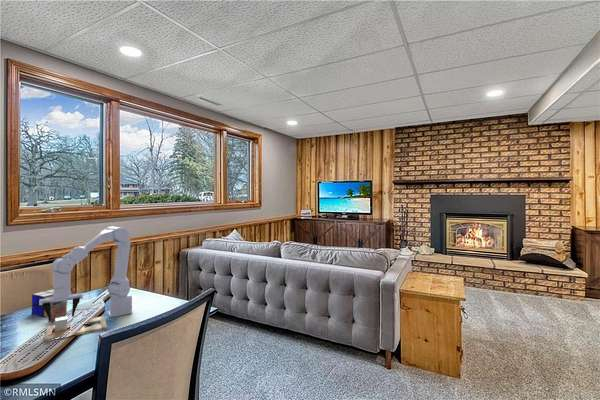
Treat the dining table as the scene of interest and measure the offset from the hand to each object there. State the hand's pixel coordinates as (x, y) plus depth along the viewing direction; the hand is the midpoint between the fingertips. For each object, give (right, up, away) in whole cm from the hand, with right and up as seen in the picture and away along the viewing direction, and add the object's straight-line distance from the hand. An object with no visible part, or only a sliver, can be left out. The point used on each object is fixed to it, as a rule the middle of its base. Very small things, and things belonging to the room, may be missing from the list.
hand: (61, 318), depth 125 cm
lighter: (-13, -6, +14) cm, 20 cm away
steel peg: (0, -6, 0) cm, 6 cm away
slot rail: (+4, -6, +3) cm, 8 cm away
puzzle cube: (-24, -6, +22) cm, 33 cm away
